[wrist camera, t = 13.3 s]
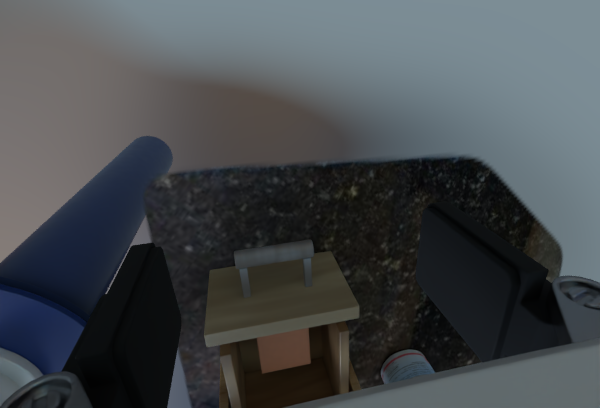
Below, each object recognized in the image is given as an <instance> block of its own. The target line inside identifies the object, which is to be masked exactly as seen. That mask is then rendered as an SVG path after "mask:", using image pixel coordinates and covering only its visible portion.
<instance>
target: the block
mask: <svg viewBox="0 0 600 408" xmlns="http://www.w3.org/2000/svg"><path fill="white" fill-rule="evenodd" d="M257 345H258V351H259V358H260V364H261V371H262V374H263V373H268V372H273V371H277V370H282V369H287V368H292V367H296V366H301V365H306V364H310V363H311V359H310V343H309V328H305V329H300V330H294V331H289V332H284V333H279V334H274V335H269V336H263V337H258V338H257Z"/></svg>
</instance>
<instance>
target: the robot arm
mask: <svg viewBox="0 0 600 408" xmlns="http://www.w3.org/2000/svg"><path fill="white" fill-rule="evenodd" d="M547 273H548V269H547V268H545V267H544V266H542V265H541V264H539V263H538V262H536V261H535V260H533V259H532V258H530V257H529V256H527V255H526V254H525V253H523V252H522V251H520V250H519V249H517V248H516V247H514V246H513V245H511V244H510V243H508V242H507V241H505V240H504V239H502V238H501V237H500V236H498V235H497V234H495V233H494V232H492V231H491V230H489V229H488V228H486V227H485V226H483V225H482V224H480V223H479V222H477V221H476V220H474V219H473V218H472V217H470V216H469V215H467V214H466V213H464V212H463V211H461V210H460V209H458V208H457V207H455V206H454V205H452V204H451V203H449V202H447V201H445V202H438V203H431V204H429V205H428V207H427V208H426V209H424V211H423V215H422V223H421V232H420V241H419V249H418V258H417V266H416V279H417V282H418V284H419V285H420V287H421V288H422V289H423V290H424V291H425V293H426V294H427V295H428V296H429V298H430V299H431V300H432V301H433V303H434V304H435V305H436V306H437V307H438V309H439V310H440V311H441V312H442V314H443V315H444V316H445V317H446V318H447V320H448V321H449V322H450V323H451V325H452V326H453V327H454V328H455V329H456V331H457V332H458V333H459V334H460V336H461V337H462V338H463V339H464V340H465V342H466V343H467V344H468V345H469V347H470V348H471V349H472V350H473V351H474V353H475V354H476V355H477V356H478V358H479V359H480V360H481V361H482V363H478V364H473V365H469V366H464V367H460V368H455V369H450V370H446V371H442V372H437V373H433V374H428V375H424V376H419V377H415V378H410V379H406V380H401V381H397V382H392V383H388V384H384V385H379V386H375V387H370V388H366V389H362V390H357V391H353V392H348V393H344V394H339V395H335V396H331V397H326V398H322V399H318V400H313V401H309V402H305V403H300V404H296V405H292V406H287V407H283V408H600V283H599V282H596V281H593V280H591V279H586V278H583V277H577V276H561V277H558V278H555V279H554V281H553V282H552V283H550V282H549V281H548V280H546V277H547ZM180 331H181V315H180V311H179V307H178V304H177V300H176V296H175V293H174V289H173V286H172V282H171V278H170V275H169V271H168V267H167V264H166V260H165V256H164V253H163V250H162V248H161V247H155V245H154V243H147V244H140V245H133V246H132V247H131V248H130V250H129V252H128V254H127V256H126V258H125V260H124V262H123V264H122V266H121V268H120V269H119V271H118V274H117V276H116V277H115V279H114V282H113V283H112V285H111V287H110V290H109V291H108V293H107V294H105V295H103V296H102V297H101V298H100V299H99V301H98V303H97V305H96V307H95V309H94V310H93V312H92V314H91V316H90V318H89V320H88V322H87V324H86V326H85V328H84V329H83V331H82V333H81V335H80V337H79V339H78V341H77V343H76V345H75V346H74V348H73V350H72V352H71V354H70V356H69V358H68V360H67V362H66V364H65V365H64V367H63V369H62V371H61V372H54V373H50V374H47V375H43V374H42V373H41V371H40V370H39V369H38V368H37V367H36V366H35V365H33V364H32V363H31V362H30V361H29V360H27V359H25V358H23V357H22V356H20V355H18V354H16V353H14V352H11V351H9V350H6V349H4V348H0V408H167V405H168V399H169V393H170V388H171V382H172V376H173V371H174V365H175V359H176V353H177V348H178V342H179V337H180Z"/></svg>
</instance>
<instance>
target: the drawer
mask: <svg viewBox="0 0 600 408" xmlns="http://www.w3.org/2000/svg"><path fill="white" fill-rule="evenodd" d="M234 260H235V266H233V267H226V268H220V269H214V270H210V273H209V285H208V296H207V307H206V319H205V330H204V337H205V341H206V346H207V347H212V346H217V345H220V359H221V363H222V368H223V372H224V377H225V381H226V385H227V390H228V394H229V399H230V403H231V408H283V407H287V406H292V405H296V404H300V403H305V402H309V401H313V400H318V399H322V398H326V397H331V396H335V395H339V394H344V393H348V392H349V329H348V327H347V324H346V322H345V321H346V320H351V319H357V318H359V305H358V303H357V301H356V299H355V297H354V295H353V293H352V291H351V289H350V287H349V285H348V283H347V281H346V279H345V277H344V276H343V274H342V272H341V270H340V268H339V266H338V264H337V262H336V260H335V258H334V256H333V254H332V252H331V251H327V252H321V253H314V247H313V243H312V240H311V239H309V240H302V241H296V242H289V243H282V244H276V245H269V246H263V247H256V248H249V249H243V250H236V251H234ZM305 328H309V343H310V359H311V363H310V364H306V365H301V366H296V367H292V368H287V369H282V370H277V371H273V372H268V373H263V374H262V371H261V364H260V358H259V351H258V345H257V338H258V337H263V336H269V335H274V334H279V333H284V332H289V331H294V330H300V329H305Z"/></svg>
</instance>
